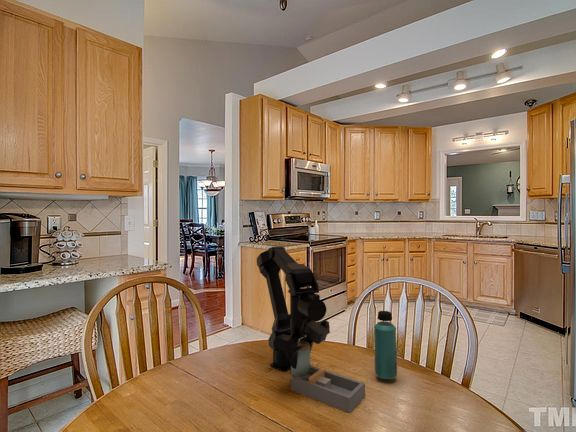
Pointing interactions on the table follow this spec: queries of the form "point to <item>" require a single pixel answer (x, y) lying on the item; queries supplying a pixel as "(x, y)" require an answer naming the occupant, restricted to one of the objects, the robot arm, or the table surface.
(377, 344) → the beverage bottle
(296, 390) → the gray rectangular tray
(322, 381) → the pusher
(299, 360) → the jar
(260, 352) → the table surface
